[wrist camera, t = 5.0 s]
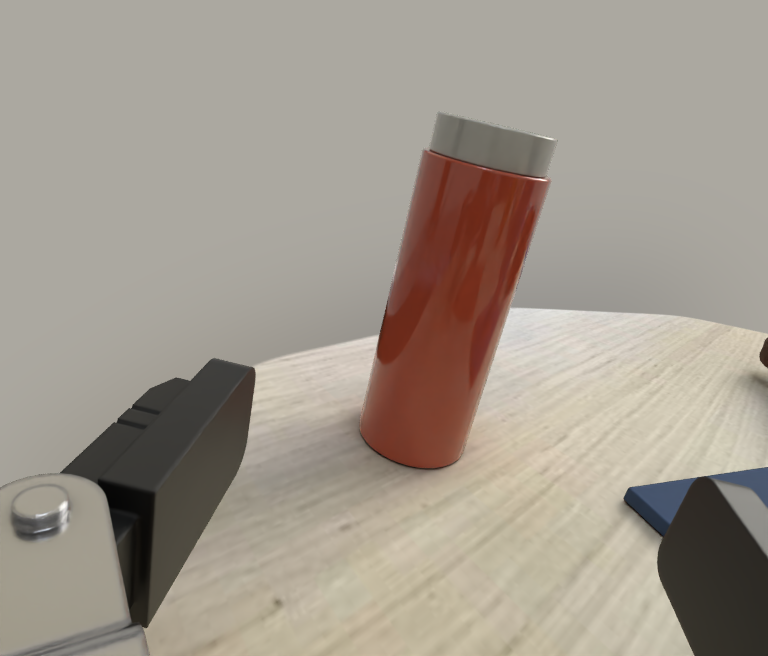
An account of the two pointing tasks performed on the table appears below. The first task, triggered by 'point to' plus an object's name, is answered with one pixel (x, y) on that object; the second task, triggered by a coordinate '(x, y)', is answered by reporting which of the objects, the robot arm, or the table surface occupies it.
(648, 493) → the blue mat
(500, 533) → the table surface
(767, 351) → the dish
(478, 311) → the terracotta shaker
